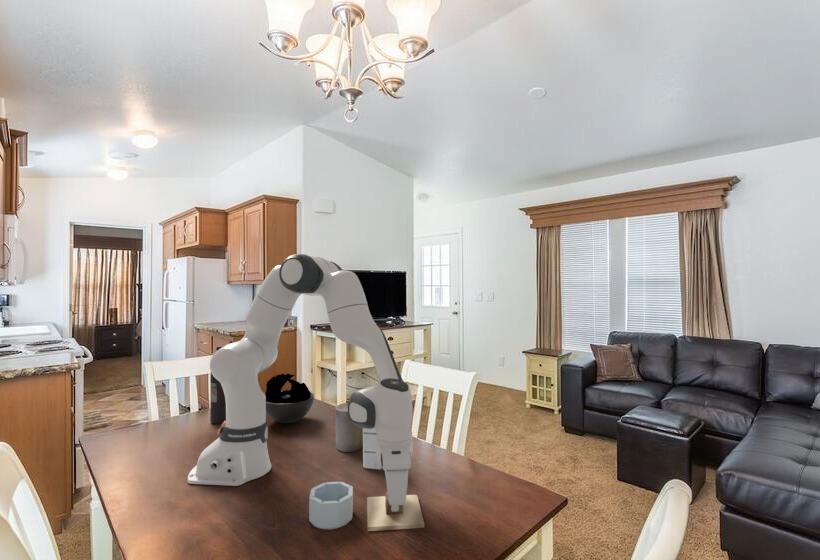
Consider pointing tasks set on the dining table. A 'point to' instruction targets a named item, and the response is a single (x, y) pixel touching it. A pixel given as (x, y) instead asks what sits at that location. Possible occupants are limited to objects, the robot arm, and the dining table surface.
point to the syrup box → (370, 450)
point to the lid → (393, 514)
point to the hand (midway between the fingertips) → (393, 503)
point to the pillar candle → (347, 431)
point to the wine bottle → (217, 400)
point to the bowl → (331, 505)
